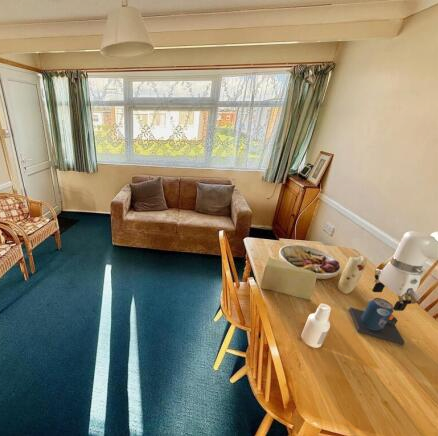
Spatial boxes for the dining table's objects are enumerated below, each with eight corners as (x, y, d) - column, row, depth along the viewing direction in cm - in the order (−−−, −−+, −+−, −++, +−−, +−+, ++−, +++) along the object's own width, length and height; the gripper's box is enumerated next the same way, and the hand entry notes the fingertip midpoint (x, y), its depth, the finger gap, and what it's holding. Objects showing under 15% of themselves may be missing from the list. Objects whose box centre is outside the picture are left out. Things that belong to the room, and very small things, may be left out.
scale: (390, 320, 99) (393, 314, 98) (405, 346, 88) (410, 340, 87) (347, 308, 105) (350, 303, 104) (357, 332, 94) (360, 326, 93)
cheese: (309, 293, 115) (319, 269, 108) (310, 305, 107) (320, 280, 101) (261, 278, 125) (267, 255, 119) (259, 288, 118) (265, 264, 111)
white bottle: (324, 349, 87) (341, 315, 80) (305, 346, 88) (319, 313, 81) (316, 334, 93) (330, 301, 86) (297, 331, 94) (310, 299, 87)
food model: (351, 298, 111) (367, 264, 103) (334, 291, 116) (349, 258, 107) (354, 288, 117) (370, 256, 109) (338, 282, 122) (352, 250, 113)
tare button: (390, 316, 98) (392, 313, 97) (393, 321, 95) (395, 318, 95) (381, 314, 99) (383, 311, 98) (384, 318, 96) (386, 316, 96)
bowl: (275, 270, 131) (278, 259, 128) (279, 246, 154) (282, 236, 151) (340, 289, 117) (346, 277, 113) (334, 260, 140) (338, 249, 136)
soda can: (380, 334, 91) (393, 312, 86) (357, 323, 96) (369, 302, 91) (383, 325, 95) (396, 304, 90) (361, 315, 100) (373, 294, 95)
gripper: (443, 280, 74) (419, 318, 81) (395, 251, 90) (379, 285, 97) (417, 279, 75) (395, 317, 82) (375, 251, 90) (359, 285, 97)
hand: (386, 300), depth 89 cm, fingers open, 9 cm apart
